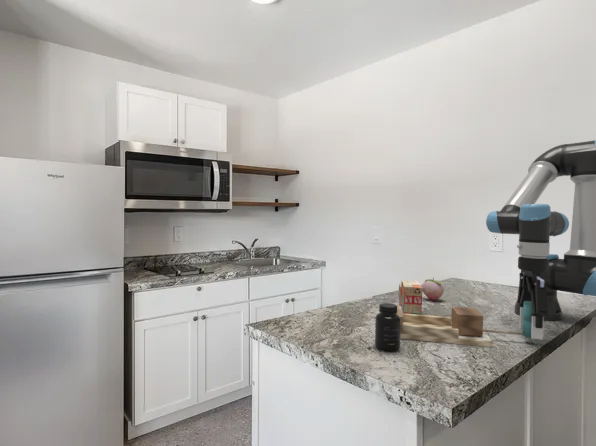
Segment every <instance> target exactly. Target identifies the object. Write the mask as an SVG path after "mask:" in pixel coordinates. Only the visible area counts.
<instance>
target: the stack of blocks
mask: <svg viewBox="0 0 596 446" xmlns="http://www.w3.org/2000/svg"><path fill="white" fill-rule="evenodd" d="M400 282H401V283H399V284H398V292H399V293H398V306H401V308H402V313H404V314H416V315H423V314H422V313H423V312H422V309H423V307H422V305H423V288H422V284H421V283H420V282H419V281H418V280H403V279H402V280H401V281H400Z"/></svg>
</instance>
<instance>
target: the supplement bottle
mask: <svg viewBox="0 0 596 446" xmlns="http://www.w3.org/2000/svg"><path fill="white" fill-rule="evenodd" d="M397 306H398V305H397V304H394V303H391V302H390V303H389V302H384V303H379V307H378V308H379V309H378V312H379V313H377V314H376V315H375V321H374V322H375V324H374V325H375V326H374V329H375V330H374V333H375V334H374V346H375V348H376V349H377V350H379V351H381V352H387V353H394V352H397V351H399V350H400V348H401V339H400V329H401V319H400V317H399V316H398V315H397V314H396V313H397Z"/></svg>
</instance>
